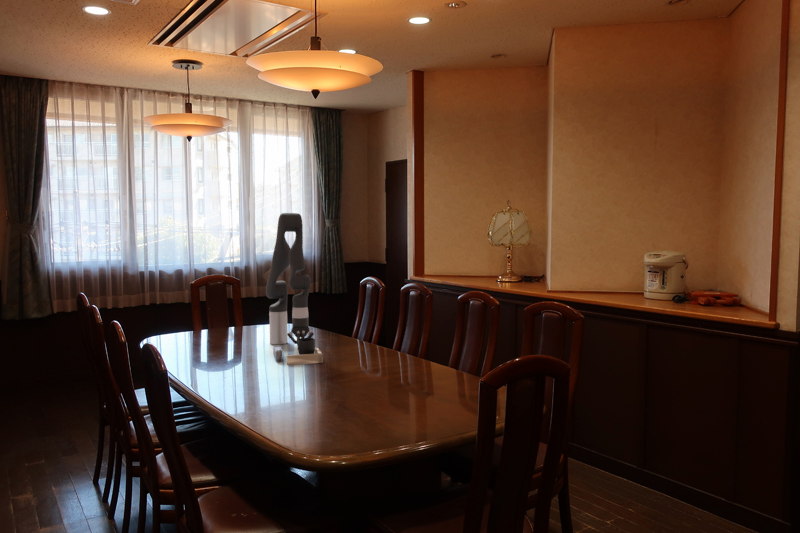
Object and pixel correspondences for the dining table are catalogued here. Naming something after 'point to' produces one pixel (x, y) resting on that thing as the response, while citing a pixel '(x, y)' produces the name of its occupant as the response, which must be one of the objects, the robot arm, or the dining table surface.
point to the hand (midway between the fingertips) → (300, 352)
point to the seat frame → (305, 358)
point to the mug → (306, 345)
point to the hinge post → (279, 355)
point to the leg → (276, 349)
